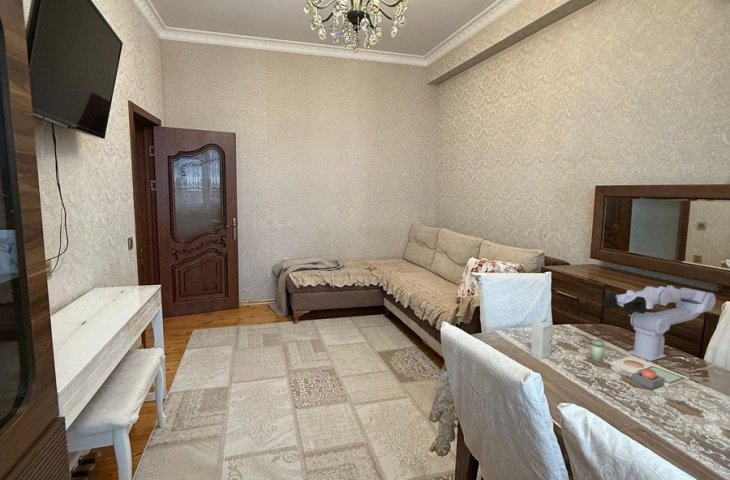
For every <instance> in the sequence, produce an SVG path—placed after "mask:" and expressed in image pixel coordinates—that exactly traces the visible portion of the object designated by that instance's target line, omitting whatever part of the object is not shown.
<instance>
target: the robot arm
mask: <svg viewBox="0 0 730 480" xmlns="http://www.w3.org/2000/svg"><path fill="white" fill-rule="evenodd" d="M716 299H717V298H716V296H715V294H714V293H713V292H706V291H703V290H697V289H692V288H688V287H681V288H676V287H674V285H667V286H662V285H661V286H659V287H654V286H649V285H647V286H646V287H644V289H643V290H639V291H633V290H631V289H627V290H626V293H623V294H622V293H621V294H616V292H609V293H608V295H607V296H606V297H605V298H604V299H602V300H601V307H604V308H611V309H616V310H617V309H618V306H620V307H622V308H623V311H624V312H633V313H632V314H631V315H630V319H629V320H630V324H631V327H633V330H634V331H635V334H634V344H633V347H634V348H633V349H631V350H629V351H628V352H627V353H628V354H631V355H633V356H635V357H638V358H640V359H644V360H646V361H650V362H653V361H656V360H659V359H662V358H666V357H667V355H666V354H664V349H665V336H664V334H665V333H666V332H668V331H670V327H671V326H672V325H677V324H680V323H683V322H684V323H685V322H688V321H692V320H694V319H696V318H697V317H699V316H700V315H702V314H703V313H707V312H711V311H712V310H713V308H714V307H715V305H716ZM669 303H675V308H671V309H665V310H661V311H657V312H650V311H649V312H648V311H646V309H648V310H650V309H651V310H652V309H654V306H655V305H660V306H664V307H665V306H667V305H668V304H669Z"/></svg>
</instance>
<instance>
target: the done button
mask: <svg viewBox="0 0 730 480" xmlns="http://www.w3.org/2000/svg"><path fill="white" fill-rule="evenodd" d="M641 376H642V377H644V378H647V379H649V380H655V377H656V372H655V371H653V370H650V369H642V371H641Z"/></svg>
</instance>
